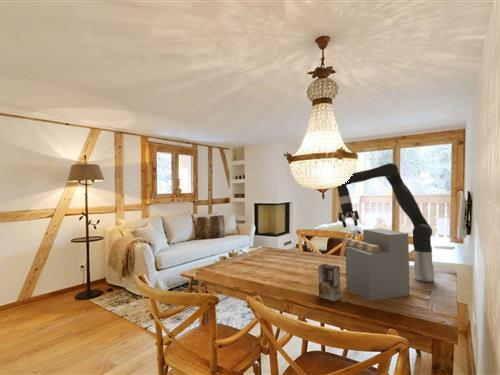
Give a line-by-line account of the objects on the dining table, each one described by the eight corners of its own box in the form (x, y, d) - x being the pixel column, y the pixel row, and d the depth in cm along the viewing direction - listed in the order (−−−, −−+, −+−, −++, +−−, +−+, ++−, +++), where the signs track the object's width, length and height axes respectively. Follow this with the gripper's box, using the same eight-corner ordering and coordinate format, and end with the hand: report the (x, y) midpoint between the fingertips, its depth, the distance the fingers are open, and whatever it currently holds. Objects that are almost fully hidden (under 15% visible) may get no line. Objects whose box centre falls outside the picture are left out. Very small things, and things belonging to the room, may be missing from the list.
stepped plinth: (346, 287, 157) (345, 230, 157) (381, 282, 163) (380, 228, 164) (370, 300, 138) (369, 236, 138) (409, 295, 144) (408, 233, 144)
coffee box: (340, 298, 142) (340, 266, 142) (334, 301, 138) (333, 269, 138) (324, 293, 149) (324, 263, 149) (318, 296, 144) (317, 265, 144)
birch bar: (341, 242, 168) (341, 237, 168) (346, 242, 169) (346, 236, 169) (374, 252, 141) (374, 246, 141) (379, 252, 142) (379, 245, 142)
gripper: (351, 203, 197) (356, 226, 193) (333, 205, 193) (338, 228, 189) (357, 201, 190) (363, 225, 186) (339, 203, 186) (344, 227, 182)
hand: (350, 226), depth 188 cm, fingers open, 8 cm apart
